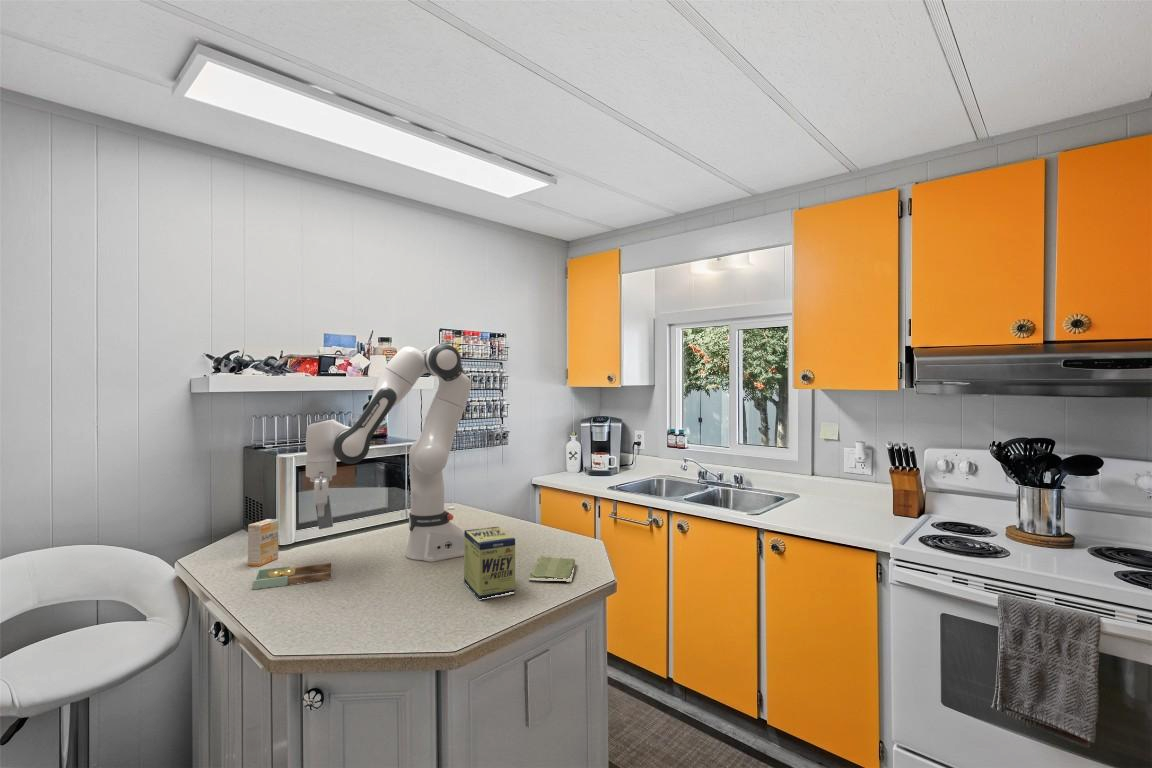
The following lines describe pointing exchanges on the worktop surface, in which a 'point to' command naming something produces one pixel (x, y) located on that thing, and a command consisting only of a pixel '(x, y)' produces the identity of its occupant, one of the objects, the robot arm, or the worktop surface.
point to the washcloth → (553, 568)
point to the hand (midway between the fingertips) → (321, 513)
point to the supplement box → (263, 542)
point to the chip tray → (269, 579)
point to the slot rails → (310, 576)
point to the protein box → (489, 561)
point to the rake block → (325, 516)
